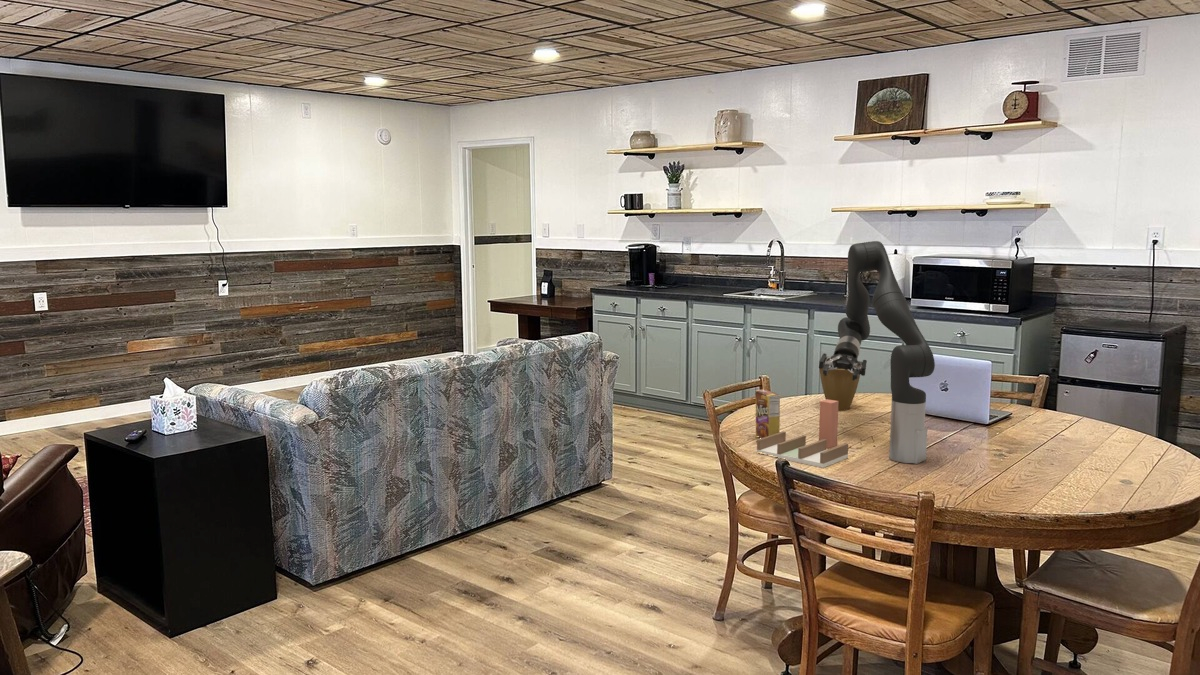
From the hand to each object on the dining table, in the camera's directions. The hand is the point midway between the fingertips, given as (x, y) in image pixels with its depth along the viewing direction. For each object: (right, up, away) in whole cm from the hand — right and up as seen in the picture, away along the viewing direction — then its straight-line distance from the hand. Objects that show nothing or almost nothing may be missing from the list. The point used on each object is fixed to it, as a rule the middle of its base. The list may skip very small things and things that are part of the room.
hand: (839, 375), depth 271 cm
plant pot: (+13, -14, +49) cm, 53 cm away
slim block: (-4, -21, -3) cm, 22 cm away
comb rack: (-15, -23, -14) cm, 31 cm away
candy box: (-21, -21, +5) cm, 30 cm away
